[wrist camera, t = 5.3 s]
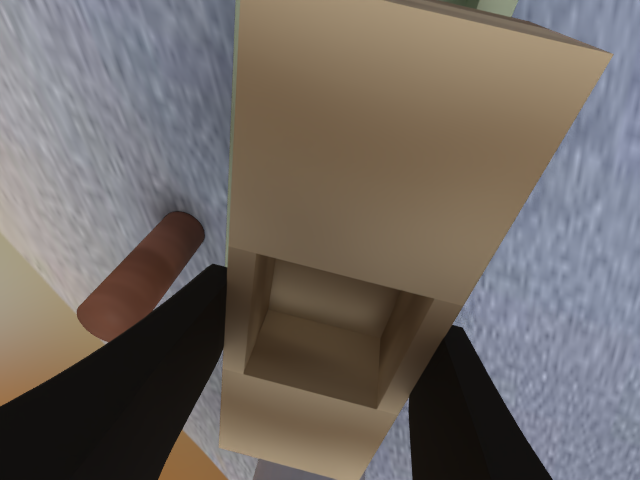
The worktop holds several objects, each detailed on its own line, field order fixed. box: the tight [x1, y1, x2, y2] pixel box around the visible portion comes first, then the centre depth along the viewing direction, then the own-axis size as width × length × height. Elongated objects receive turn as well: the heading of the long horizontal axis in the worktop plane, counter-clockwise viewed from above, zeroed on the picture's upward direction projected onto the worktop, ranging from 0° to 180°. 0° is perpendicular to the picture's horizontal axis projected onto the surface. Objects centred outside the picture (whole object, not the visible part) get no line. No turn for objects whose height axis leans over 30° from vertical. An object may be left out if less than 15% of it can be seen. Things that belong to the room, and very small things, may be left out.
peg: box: [77, 212, 205, 342], centre depth 18 cm, size 2×2×7 cm
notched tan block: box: [219, 0, 614, 480], centre depth 11 cm, size 14×5×4 cm, turn 169°
